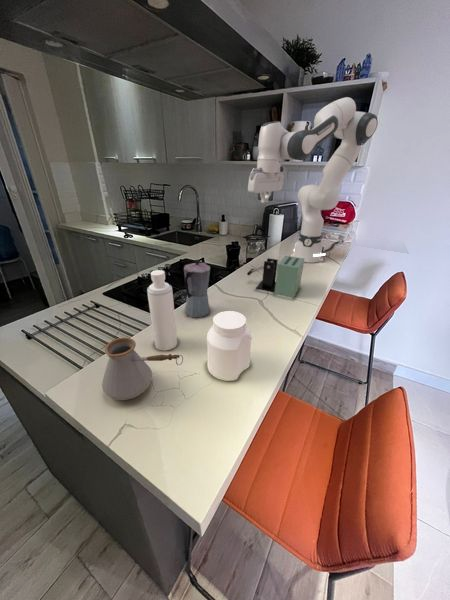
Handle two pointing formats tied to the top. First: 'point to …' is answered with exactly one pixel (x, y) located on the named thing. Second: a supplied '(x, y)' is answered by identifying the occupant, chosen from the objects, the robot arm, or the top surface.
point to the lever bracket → (269, 276)
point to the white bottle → (162, 311)
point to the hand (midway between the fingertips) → (264, 202)
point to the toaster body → (289, 276)
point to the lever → (256, 269)
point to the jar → (228, 346)
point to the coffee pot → (128, 370)
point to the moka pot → (197, 288)
